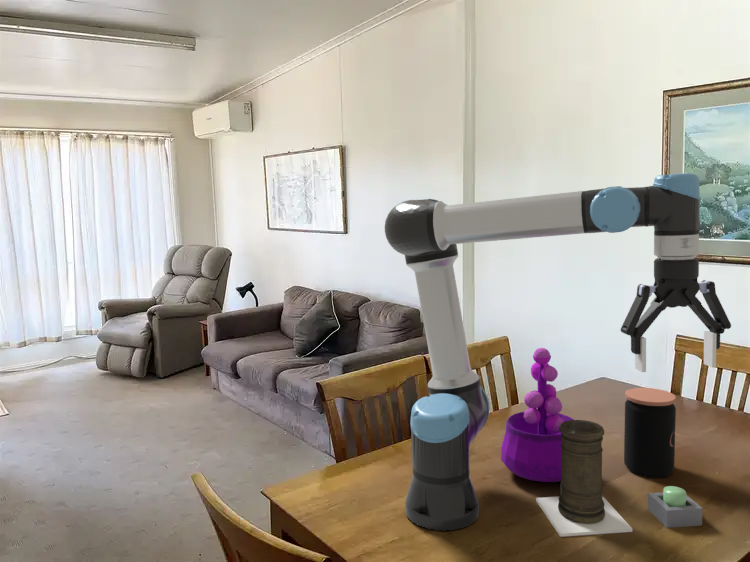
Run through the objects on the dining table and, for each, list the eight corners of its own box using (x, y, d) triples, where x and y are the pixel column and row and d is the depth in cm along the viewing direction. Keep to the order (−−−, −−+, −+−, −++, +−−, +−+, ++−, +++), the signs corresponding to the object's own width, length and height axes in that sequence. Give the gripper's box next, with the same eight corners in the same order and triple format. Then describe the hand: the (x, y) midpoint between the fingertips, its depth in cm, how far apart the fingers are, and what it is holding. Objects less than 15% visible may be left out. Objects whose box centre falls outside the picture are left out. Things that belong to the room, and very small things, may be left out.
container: (600, 528, 113) (601, 438, 111) (552, 517, 118) (552, 430, 116) (609, 507, 121) (610, 422, 119) (564, 497, 126) (564, 415, 123)
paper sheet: (560, 536, 112) (560, 533, 112) (535, 500, 126) (535, 497, 126) (632, 531, 113) (632, 528, 113) (600, 496, 127) (600, 493, 127)
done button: (670, 518, 116) (670, 496, 115) (658, 508, 120) (659, 486, 119) (689, 516, 116) (690, 495, 115) (678, 506, 120) (678, 485, 119)
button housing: (666, 527, 114) (667, 510, 114) (647, 509, 121) (648, 493, 121) (701, 525, 114) (702, 508, 114) (681, 507, 121) (681, 490, 121)
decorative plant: (491, 459, 147) (490, 341, 143) (564, 454, 149) (564, 336, 145) (516, 496, 128) (515, 361, 125) (599, 489, 130) (600, 355, 126)
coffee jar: (680, 480, 133) (682, 402, 130) (629, 478, 135) (630, 401, 133) (666, 460, 143) (668, 388, 141) (619, 458, 145) (620, 386, 143)
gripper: (620, 262, 107) (620, 377, 109) (754, 255, 108) (751, 368, 111) (602, 259, 114) (602, 367, 117) (727, 252, 116) (725, 358, 118)
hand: (675, 368), depth 114 cm, fingers open, 13 cm apart
